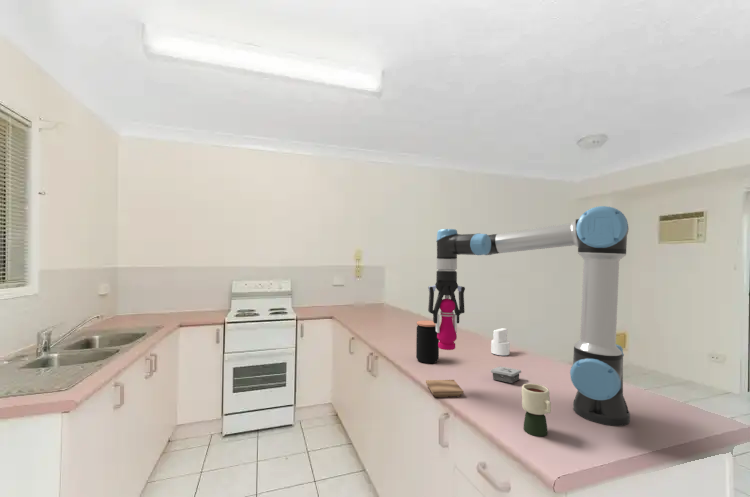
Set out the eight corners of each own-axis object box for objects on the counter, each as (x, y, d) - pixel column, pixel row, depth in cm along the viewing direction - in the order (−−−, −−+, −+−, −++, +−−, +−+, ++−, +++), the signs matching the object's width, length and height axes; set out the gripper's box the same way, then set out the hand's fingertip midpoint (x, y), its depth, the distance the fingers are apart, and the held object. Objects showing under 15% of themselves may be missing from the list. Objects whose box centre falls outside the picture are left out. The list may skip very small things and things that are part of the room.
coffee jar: (442, 359, 166) (442, 322, 166) (433, 365, 157) (433, 325, 157) (421, 355, 172) (422, 319, 172) (412, 361, 163) (412, 323, 163)
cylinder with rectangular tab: (496, 349, 184) (497, 327, 185) (512, 353, 178) (512, 330, 178) (487, 352, 179) (487, 329, 179) (503, 356, 172) (503, 332, 172)
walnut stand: (463, 398, 121) (463, 391, 121) (433, 399, 121) (433, 391, 121) (453, 386, 132) (453, 379, 132) (425, 386, 131) (425, 380, 132)
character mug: (560, 441, 94) (560, 394, 94) (539, 445, 92) (539, 397, 92) (531, 422, 104) (531, 379, 105) (512, 425, 102) (512, 382, 102)
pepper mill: (460, 349, 126) (460, 295, 126) (443, 351, 124) (443, 295, 124) (449, 344, 133) (450, 293, 133) (433, 346, 131) (433, 293, 131)
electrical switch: (513, 374, 133) (490, 365, 140) (511, 387, 133) (488, 378, 140) (522, 370, 140) (500, 362, 146) (520, 382, 140) (498, 374, 147)
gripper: (467, 269, 133) (467, 329, 133) (419, 269, 132) (419, 329, 132) (474, 271, 126) (474, 334, 125) (423, 270, 124) (423, 334, 124)
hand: (446, 331), depth 128 cm, fingers closed on pepper mill, 6 cm apart
